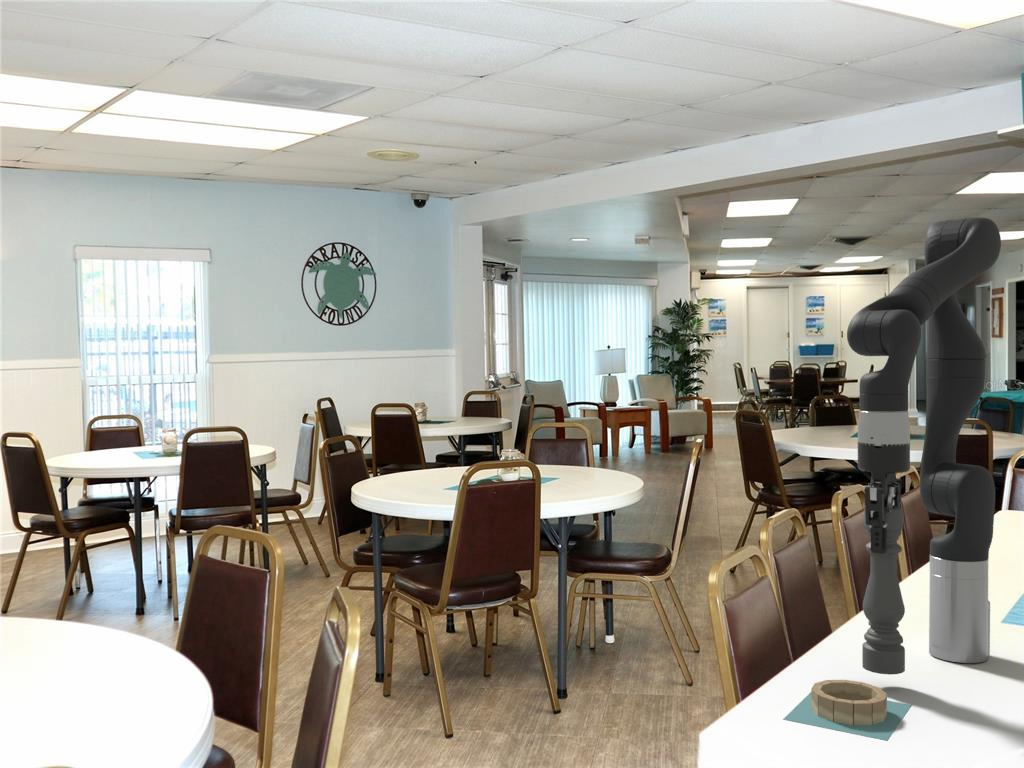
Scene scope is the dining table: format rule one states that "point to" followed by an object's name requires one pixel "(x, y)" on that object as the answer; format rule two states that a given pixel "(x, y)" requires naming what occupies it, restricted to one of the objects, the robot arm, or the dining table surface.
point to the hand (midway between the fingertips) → (883, 548)
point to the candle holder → (884, 603)
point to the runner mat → (877, 731)
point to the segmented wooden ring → (849, 702)
